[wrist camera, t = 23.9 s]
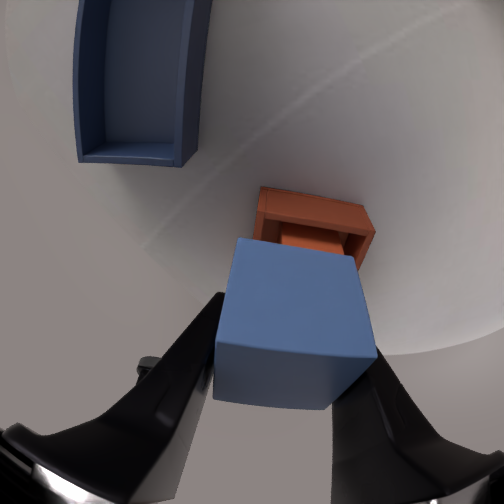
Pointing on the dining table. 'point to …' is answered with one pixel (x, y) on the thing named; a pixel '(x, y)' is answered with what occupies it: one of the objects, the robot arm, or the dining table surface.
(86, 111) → the slate bin
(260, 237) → the terracotta bin
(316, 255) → the slate block
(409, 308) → the dining table surface
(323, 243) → the terracotta block
